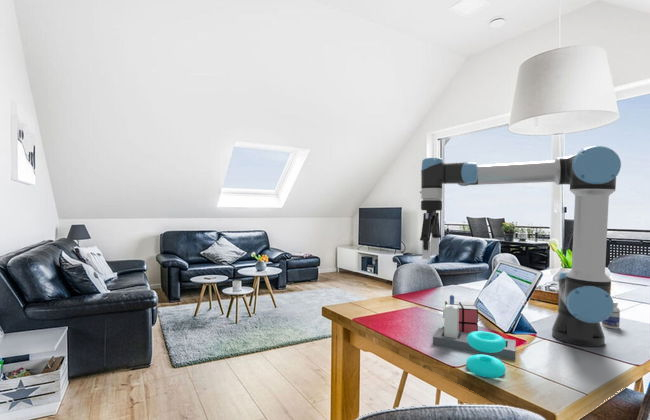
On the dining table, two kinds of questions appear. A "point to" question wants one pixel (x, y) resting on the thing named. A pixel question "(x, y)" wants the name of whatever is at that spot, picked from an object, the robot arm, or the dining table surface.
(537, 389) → the dining table surface
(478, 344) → the donuts
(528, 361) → the dining table surface
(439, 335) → the socket panel
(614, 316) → the pill bottle
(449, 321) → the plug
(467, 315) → the puzzle cube
